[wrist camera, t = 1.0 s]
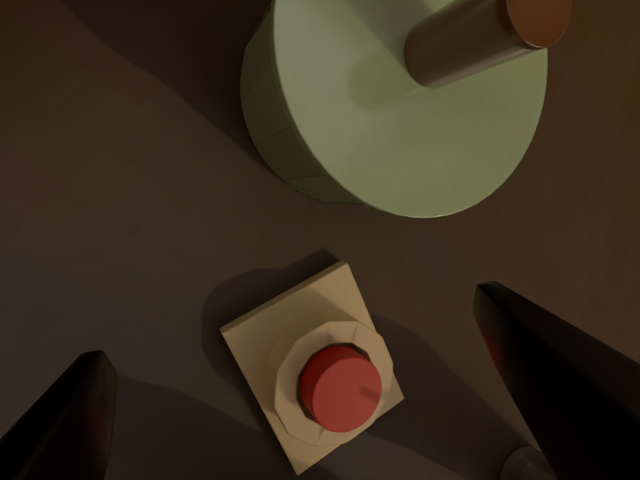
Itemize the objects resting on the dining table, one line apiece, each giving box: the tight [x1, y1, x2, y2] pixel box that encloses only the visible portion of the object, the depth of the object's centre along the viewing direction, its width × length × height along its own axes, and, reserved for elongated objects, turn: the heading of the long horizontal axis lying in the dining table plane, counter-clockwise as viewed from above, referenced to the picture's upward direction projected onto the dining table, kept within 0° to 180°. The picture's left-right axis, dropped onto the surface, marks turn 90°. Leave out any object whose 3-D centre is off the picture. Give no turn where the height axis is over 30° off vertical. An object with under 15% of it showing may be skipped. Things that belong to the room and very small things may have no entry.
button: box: [300, 346, 382, 433], centre depth 22 cm, size 4×4×2 cm
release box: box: [220, 261, 404, 475], centre depth 24 cm, size 10×8×3 cm
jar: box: [240, 0, 364, 205], centre depth 20 cm, size 12×12×8 cm
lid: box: [269, 0, 571, 218], centre depth 15 cm, size 13×13×6 cm
